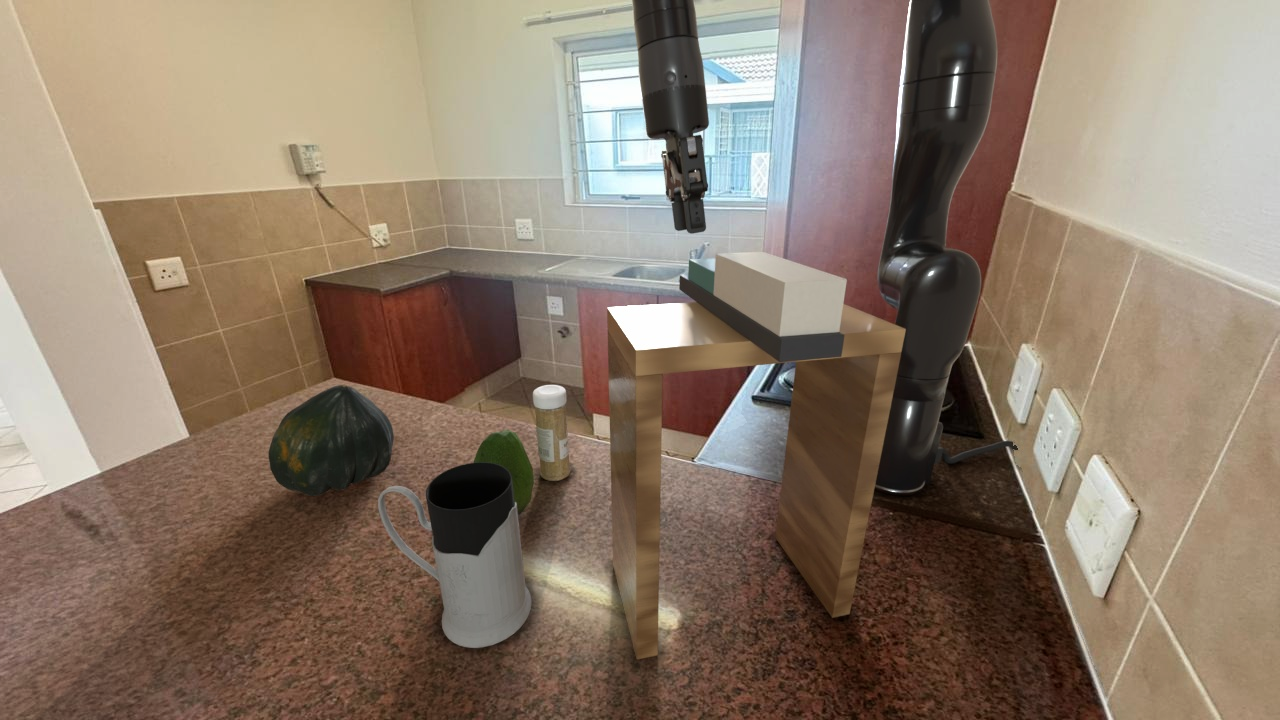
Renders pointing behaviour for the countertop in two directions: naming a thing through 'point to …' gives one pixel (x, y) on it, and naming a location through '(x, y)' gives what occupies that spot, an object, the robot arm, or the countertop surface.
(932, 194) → the robot arm
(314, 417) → the squash
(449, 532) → the glass holder
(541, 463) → the spice jar
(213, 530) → the countertop surface
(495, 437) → the avocado
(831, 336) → the beige green block bar
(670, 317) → the wooden stand
